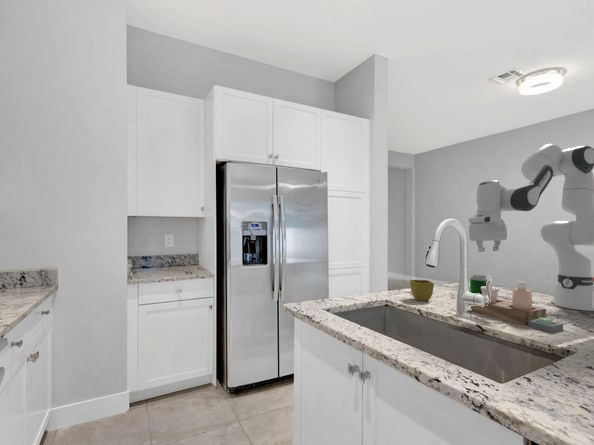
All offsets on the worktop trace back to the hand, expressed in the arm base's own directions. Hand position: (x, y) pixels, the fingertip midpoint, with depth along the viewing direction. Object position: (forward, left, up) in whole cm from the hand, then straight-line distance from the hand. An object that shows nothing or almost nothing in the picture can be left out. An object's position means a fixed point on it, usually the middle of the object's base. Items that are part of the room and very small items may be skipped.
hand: (488, 251), depth 138 cm
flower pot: (+10, -27, -26) cm, 38 cm away
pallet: (+4, +9, -25) cm, 27 cm away
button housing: (+7, +25, -25) cm, 37 cm away
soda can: (-15, -15, -26) cm, 33 cm away
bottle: (+4, +16, -24) cm, 29 cm away
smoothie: (+4, +3, -25) cm, 25 cm away
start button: (+7, +25, -25) cm, 36 cm away
